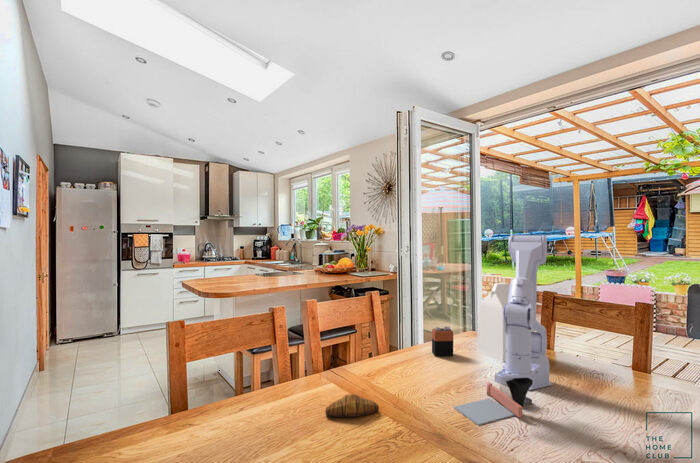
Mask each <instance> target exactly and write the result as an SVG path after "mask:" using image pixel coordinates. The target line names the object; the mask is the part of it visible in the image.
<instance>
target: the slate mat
mask: <svg viewBox="0 0 700 463" xmlns="http://www.w3.org/2000/svg"><path fill="white" fill-rule="evenodd" d="M453 409H454V410H456V411H457V412H459V413H460V414H461V415H463V416H464V417H465V418H467V419H469V420H470V421H471V422H472V423H474V424H476V425H477V426H482V425H486V424H489V423H493V422H496V421H500V420H504V419H507V418H510V417H511V418H512V417H515V416H516V415H515V414H514V413H513V412H511V411H510V410H509V409H508V408H506V407H505V406H504V405H502V404H501V403H499V402H496V401H495V400H493V399H491V398H490V397H489V398H485V399H480V400H475V401H471V402H469V403H468V402H467V403H463V404H459V405H455V406H453ZM516 417H517V416H516Z"/></svg>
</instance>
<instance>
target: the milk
mask: <svg viewBox="0 0 700 463" xmlns="http://www.w3.org/2000/svg"><path fill="white" fill-rule="evenodd" d="M509 288H510V283H509V282H499V283H497V282H496V283H494V284H493V287H492V289H491V292H489V293H488V294H487V295H486V296H484V298H482V299H481V301H480V302H479V308H478V311H479V312H478V326H477V328H478V329H477V345H476V348H477V349H476V352H477V353H478V354H480V355H483V356H485V357H489V358H491V359H492V360H496V361H498V362H501V363H506V333H505V331H504V321H503V309H504V305H507V302H508V295H509Z"/></svg>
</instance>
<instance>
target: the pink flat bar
mask: <svg viewBox="0 0 700 463" xmlns="http://www.w3.org/2000/svg"><path fill="white" fill-rule="evenodd" d="M486 395H487V397H493V398H494V399H495V400H496V401H498V403H499V404H500V405H502V406H504V407H505V408H507V409H509V410H510V411H511V412H513V413H514V414H515V415H516V417H518V418H523V408H522V406H520V405H519V404H518V403H516V402H515V401H514V400H512V399H511V398H510V397H508V396H507V395H505V394H504V393H503V392H501V391H500V390H499V388H497V387H496V386H494V385H493V383H491V382H486Z"/></svg>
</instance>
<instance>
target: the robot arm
mask: <svg viewBox="0 0 700 463" xmlns="http://www.w3.org/2000/svg"><path fill="white" fill-rule="evenodd" d="M507 245H508V246H507V249H508V254H509V256H510V258H511V261H512V262H513V263H515V278H514V279H512V280H510V283H509V287H510V288H509V295H508V302H507V305H504V309H503V321H504V331H505V333H506V362H505V364H502V369H500V370H499V371H498V372H496V373H494V382H495V383H497V384H504V382H506V383H507V385H508V387H509V389H510V392H511V395H512V400H514V401H515V402H516V403H518V404H519V405H520V406H522V409H523V407H524V406H525V405H524V400H525V397H527V394H528V392H529V391H532V390H536V389H541V388H545V387H549V386H552V385H553V384H552V382H550V361H549V358H548V356H547V355H546V354H547V348H548V336H547V329H546V326H544V325H543V324H542V323H540V322H539V320H537V298H538V297H537V293H538V292H537V286H538V284H537V283H538V270H539V267H540V266H541V265H544V264H546V262H547V256H548V255H547V254H548V238H547V236H546V235H545V234H544V235H543V234H541V235H520V234H519V235H514V234H511V235H509V237H508V243H507ZM523 405H524V406H523Z"/></svg>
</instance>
